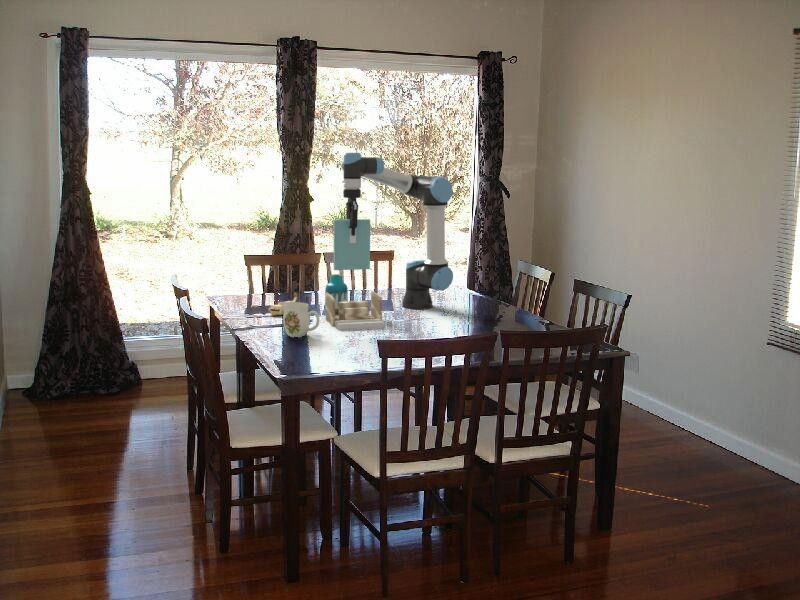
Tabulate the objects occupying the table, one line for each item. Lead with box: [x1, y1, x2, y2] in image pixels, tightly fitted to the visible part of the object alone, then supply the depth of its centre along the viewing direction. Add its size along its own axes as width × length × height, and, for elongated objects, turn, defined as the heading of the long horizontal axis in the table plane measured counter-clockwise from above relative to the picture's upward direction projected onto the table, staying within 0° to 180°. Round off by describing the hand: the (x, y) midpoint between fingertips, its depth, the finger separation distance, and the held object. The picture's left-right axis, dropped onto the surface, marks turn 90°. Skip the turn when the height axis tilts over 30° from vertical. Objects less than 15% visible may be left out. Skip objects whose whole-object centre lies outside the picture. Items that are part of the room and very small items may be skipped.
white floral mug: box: [277, 301, 321, 338], centre depth 331 cm, size 11×18×14 cm, turn 77°
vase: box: [324, 273, 349, 315], centre depth 372 cm, size 11×11×19 cm
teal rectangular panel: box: [333, 218, 371, 271], centre depth 352 cm, size 16×2×22 cm, turn 107°
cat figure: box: [268, 292, 302, 316], centre depth 380 cm, size 10×9×25 cm
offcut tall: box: [338, 300, 370, 320], centre depth 353 cm, size 13×2×9 cm, turn 107°
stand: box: [334, 319, 385, 331], centre depth 344 cm, size 20×8×4 cm, turn 107°
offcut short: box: [344, 307, 368, 320], centre depth 350 cm, size 10×2×7 cm, turn 107°
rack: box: [325, 290, 383, 327], centre depth 354 cm, size 22×15×14 cm
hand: (351, 242), depth 351 cm, fingers closed on teal rectangular panel, 2 cm apart
